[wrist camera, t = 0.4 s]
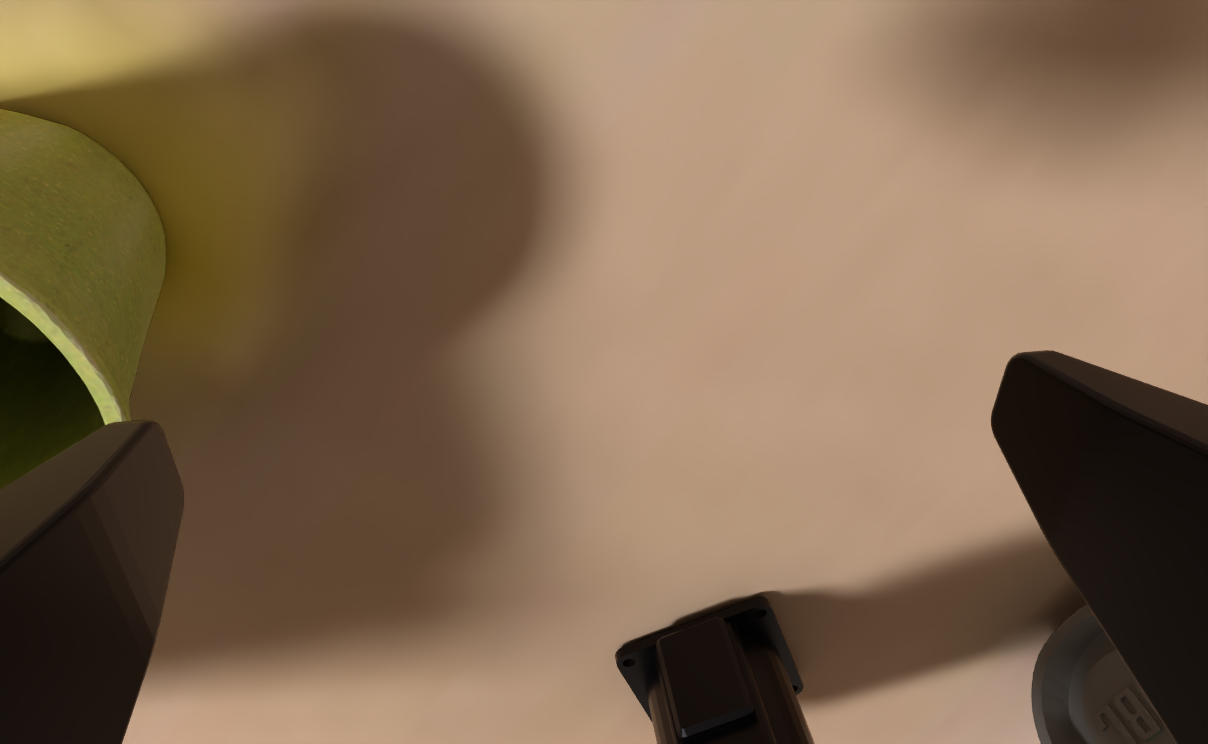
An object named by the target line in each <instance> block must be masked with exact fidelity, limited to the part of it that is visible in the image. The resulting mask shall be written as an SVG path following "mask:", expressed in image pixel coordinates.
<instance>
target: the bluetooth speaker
mask: <svg viewBox="0 0 1208 744" xmlns="http://www.w3.org/2000/svg"><path fill="white" fill-rule="evenodd" d="M1032 711H1033V716H1034V722H1035V726H1036V730H1037V733H1038V737H1039V740H1040V742H1041V744H1177V743H1176V742H1175V740H1174V739H1173V737H1172V735H1171V734H1170V732H1169V731H1168V729H1167V728H1166V726H1165V725H1164V723H1163V721H1162V720H1161V718H1160V717H1159V715H1158V714H1157V712H1156V711H1155V709H1154V707H1153V706H1152V704H1151V703H1150V701H1149V700H1148V698H1147V697H1146V695H1145V693H1144V692H1143V690H1142V689H1141V687H1140V686H1139V684H1138V683H1137V681H1136V680H1135V678H1134V676H1133V675H1132V673H1131V672H1130V670H1129V669H1128V667H1127V666H1126V664H1125V662H1124V661H1123V659H1122V658H1121V656H1120V655H1119V653H1118V652H1117V650H1116V648H1115V647H1114V645H1113V644H1112V642H1111V641H1110V639H1109V638H1108V636H1107V635H1106V633H1105V631H1104V630H1103V628H1102V627H1101V625H1100V624H1099V622H1098V621H1097V619H1096V617H1095V616H1094V614H1093V613H1092V611H1091V610H1090V608H1089V607H1088V605H1085V606H1083V607H1081V608H1080V609H1079V610H1077V611H1076V612H1074V613H1073V614H1072V615H1071V616H1070V617H1069V618H1067V619H1066V620H1065V621H1064V622H1063V623H1062V624H1061V625H1060V626H1059V627H1058V628H1057V629H1056V630H1055V632H1054V633H1053V634H1052V635H1051V636H1050V638H1049V639H1048V640H1047V642H1046V643H1045V644H1044V646H1043V648H1042V650H1041V651H1040V653H1039V656H1038V658H1037V661H1036V664H1035V668H1034V672H1033V680H1032Z"/></svg>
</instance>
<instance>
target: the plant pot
mask: <svg viewBox="0 0 1208 744" xmlns="http://www.w3.org/2000/svg"><path fill="white" fill-rule="evenodd" d="M165 269H166V242H165V234H164V230H163V227H162V223H161V220H160V217H159V215H158V213H157V210H156V208H155V206H154V204H153V202H152V201H151V199H150V197H149V195H148V194H147V192H146V191H145V189H144V188H143V187H142V185H141V184H140V183H139V181H138V180H137V179H136V177H135V176H134V175H133V174H132V173H131V172H130V171H129V170H128V169H127V168H126V167H125V166H124V165H123V164H122V163H121V162H120V161H119V160H118V159H117V158H116V157H115V156H113V155H112V154H111V153H109V152H108V151H107V150H106V149H104V148H103V147H102V146H101V145H99V144H98V143H96V142H95V141H93V140H92V139H90V138H89V137H87V136H85V135H84V134H82V133H80V132H78V131H76V130H74V129H72V128H70V127H68V126H65V125H62V124H58V123H55V122H51V121H48V120H44V119H40V118H37V117H33V116H29V115H26V114H22V113H17V112H13V111H8V110H3V109H0V489H2V488H3V487H5V486H7V485H8V484H10V483H12V482H13V481H15V480H17V479H18V478H20V477H21V476H23V475H25V474H26V473H28V472H30V471H31V470H33V469H34V468H36V467H38V466H39V465H41V464H43V463H44V462H46V461H48V460H49V459H51V458H52V457H54V456H56V455H57V454H59V453H61V452H62V451H64V450H66V449H67V448H69V447H70V446H72V445H74V444H75V443H77V442H79V441H80V440H82V439H83V438H85V437H87V436H88V435H90V434H92V433H93V432H95V431H97V430H98V429H100V428H101V427H103V426H105V425H107V424H109V423H113V422H122V421H131V417H130V406H129V398H130V394H131V391H132V387H133V383H134V379H135V375H136V371H137V367H138V364H139V360H140V356H141V352H142V349H143V345H144V342H145V339H146V335H147V332H148V328H149V325H150V322H151V319H152V316H153V313H154V310H155V307H156V303H157V300H158V297H159V294H160V290H161V287H162V284H163V281H164V277H165Z"/></svg>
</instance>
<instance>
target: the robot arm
mask: <svg viewBox="0 0 1208 744" xmlns="http://www.w3.org/2000/svg"><path fill="white" fill-rule="evenodd" d="M991 427H992V431H993V434H994V437H995V439H996V441H997V443H998V445H999V447H1000V449H1001V451H1002V453H1003V455H1004V457H1005V459H1006V461H1007V463H1008V465H1009V467H1010V469H1011V471H1012V473H1013V475H1014V477H1015V479H1016V481H1017V483H1018V485H1019V487H1020V489H1021V491H1022V492H1023V494H1024V496H1025V498H1026V500H1027V502H1028V504H1029V506H1030V508H1031V510H1032V512H1033V514H1034V516H1035V518H1036V520H1037V522H1038V524H1039V526H1040V528H1041V530H1042V532H1043V534H1044V535H1045V537H1046V539H1047V541H1048V543H1049V545H1050V547H1051V548H1052V550H1053V551H1054V553H1055V555H1056V556H1057V558H1058V560H1059V561H1060V563H1061V565H1062V566H1063V568H1064V569H1065V571H1066V572H1067V574H1068V576H1069V577H1070V579H1071V580H1072V582H1073V583H1074V585H1075V586H1076V588H1077V589H1078V591H1079V593H1080V594H1081V596H1082V597H1083V599H1084V600H1085V602H1086V603H1087V605H1088V607H1089V608H1090V610H1091V611H1092V613H1093V614H1094V616H1095V617H1096V619H1097V621H1098V622H1099V624H1100V625H1101V627H1102V628H1103V630H1104V631H1105V633H1106V635H1107V636H1108V638H1109V639H1110V641H1111V642H1112V644H1113V645H1114V647H1115V648H1116V650H1117V652H1118V653H1119V655H1120V656H1121V658H1122V659H1123V661H1124V662H1125V664H1126V666H1127V667H1128V669H1129V670H1130V672H1131V673H1132V675H1133V676H1134V678H1135V680H1136V681H1137V683H1138V684H1139V686H1140V687H1141V689H1142V690H1143V692H1144V693H1145V695H1146V697H1147V698H1148V700H1149V701H1150V703H1151V704H1152V706H1153V707H1154V709H1155V711H1156V712H1157V714H1158V715H1159V717H1160V718H1161V720H1162V721H1163V723H1164V725H1165V726H1166V728H1167V729H1168V731H1169V732H1170V734H1171V735H1172V737H1173V739H1174V740H1175V742H1176V743H1177V744H1208V405H1207V404H1204V403H1201V402H1198V401H1195V400H1192V399H1189V398H1187V397H1184V396H1181V395H1178V394H1175V393H1172V392H1170V391H1167V390H1164V389H1161V388H1158V387H1155V386H1153V385H1150V384H1147V383H1144V382H1141V381H1138V380H1135V379H1133V378H1130V377H1127V376H1124V375H1121V374H1118V373H1116V372H1113V371H1110V370H1107V369H1104V368H1101V367H1099V366H1096V365H1093V364H1090V363H1087V362H1084V361H1081V360H1079V359H1076V358H1073V357H1070V356H1067V355H1064V354H1062V353H1059V352H1055V351H1048V350H1045V351H1033V352H1022V353H1018V354H1016V355H1014V356H1013V357H1012V358H1011V359H1010V360H1009V361H1008V363H1007V366H1006V369H1005V372H1004V375H1003V378H1002V381H1001V384H1000V388H999V391H998V394H997V397H996V400H995V404H994V407H993V410H992V414H991ZM183 507H184V490H183V485H182V482H181V479H180V476H179V473H178V470H177V468H176V465H175V462H174V459H173V456H172V454H171V451H170V448H169V445H168V443H167V440H166V437H165V434H164V432H163V430H162V428H161V427H160V426H159V424H158V423H156V422H154V421H152V420H135V421H122V422H113V423H109V424H107V425H105V426H103V427H101V428H100V429H98V430H97V431H95V432H93V433H92V434H90V435H88V436H87V437H85V438H83V439H82V440H80V441H79V442H77V443H75V444H74V445H72V446H70V447H69V448H67V449H66V450H64V451H62V452H61V453H59V454H57V455H56V456H54V457H52V458H51V459H49V460H48V461H46V462H44V463H43V464H41V465H39V466H38V467H36V468H34V469H33V470H31V471H30V472H28V473H26V474H25V475H23V476H21V477H20V478H18V479H17V480H15V481H13V482H12V483H10V484H8V485H7V486H5V487H3V488H2V489H0V744H122V742H123V739H124V736H125V733H126V730H127V727H128V724H129V721H130V718H131V715H132V712H133V709H134V706H135V703H136V700H137V697H138V694H139V691H140V688H141V685H142V682H143V680H144V677H145V674H146V671H147V668H148V665H149V661H150V658H151V655H152V651H153V648H154V645H155V642H156V637H157V633H158V629H159V625H160V620H161V616H162V611H163V606H164V601H165V596H166V591H167V586H168V581H169V577H170V572H171V567H172V562H173V557H174V552H175V547H176V542H177V537H178V533H179V528H180V523H181V518H182V513H183ZM615 658H616V664H617V667H618V669H619V670H620V672H621V674H622V675H623V677H624V678H625V680H626V681H627V683H628V685H629V686H630V688H631V689H632V691H633V693H634V694H635V696H636V697H637V699H638V700H639V702H640V704H641V705H642V707H643V708H644V710H645V711H646V713H647V715H648V716H649V718H650V719H651V721H652V723H653V726H654V731H655V736H656V740H657V744H815V743H814V741H813V738H812V736H811V733H810V730H809V728H808V725H807V723H806V720H805V717H804V715H803V712H802V710H801V707H800V705H799V702H798V699H797V697H796V695H797V694H799V693H800V692H801V691H802V690H803V683H802V681H801V678H800V676H799V673H798V671H797V669H796V666H795V664H794V661H793V659H792V656H791V654H790V651H789V649H788V647H787V644H786V642H785V639H784V637H783V634H782V632H781V629H780V627H779V625H778V622H777V620H776V617H775V615H774V612H773V610H772V607H771V605H770V602H769V601H768V600H767V599H766V598H763V597H758V598H754V599H751V600H748V601H746V602H743V603H740V604H738V605H735V606H732V607H730V608H727V609H724V610H722V611H719V612H716V613H714V614H711V615H708V616H705V617H703V618H700V619H697V620H695V621H692V622H689V623H687V624H684V625H681V626H679V627H676V628H673V629H671V630H668V631H665V632H663V633H660V634H657V635H655V636H652V637H649V638H646V639H644V640H641V641H638V642H636V643H633V644H630V645H628V646H625V647H623V648H621V649H619V650H618V651H617V652H616V654H615Z"/></svg>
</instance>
